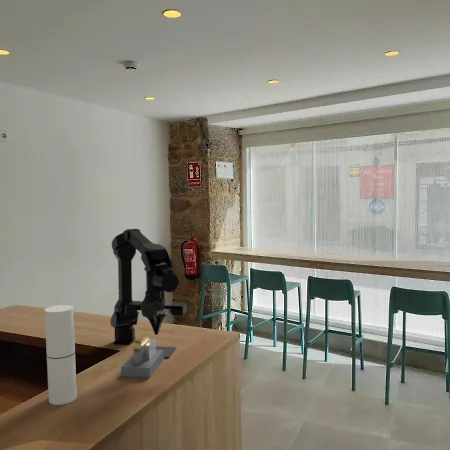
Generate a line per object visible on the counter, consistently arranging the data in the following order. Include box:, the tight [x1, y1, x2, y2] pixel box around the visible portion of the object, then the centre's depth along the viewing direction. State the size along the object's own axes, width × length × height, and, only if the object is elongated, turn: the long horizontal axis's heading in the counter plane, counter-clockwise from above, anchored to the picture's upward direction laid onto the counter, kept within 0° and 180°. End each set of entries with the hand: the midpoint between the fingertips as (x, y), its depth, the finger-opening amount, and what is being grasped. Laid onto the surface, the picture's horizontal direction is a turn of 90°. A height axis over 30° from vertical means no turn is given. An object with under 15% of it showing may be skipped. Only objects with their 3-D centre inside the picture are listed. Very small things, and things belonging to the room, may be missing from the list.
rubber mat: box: [156, 345, 176, 359], centre depth 153 cm, size 12×9×1 cm
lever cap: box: [140, 337, 157, 360], centre depth 142 cm, size 5×7×4 cm
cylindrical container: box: [44, 304, 78, 406], centre depth 119 cm, size 7×7×25 cm
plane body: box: [120, 350, 165, 379], centre depth 140 cm, size 9×15×8 cm, turn 172°
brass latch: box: [132, 332, 150, 352], centre depth 138 cm, size 3×10×2 cm, turn 172°
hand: (156, 334), depth 140 cm, fingers closed
